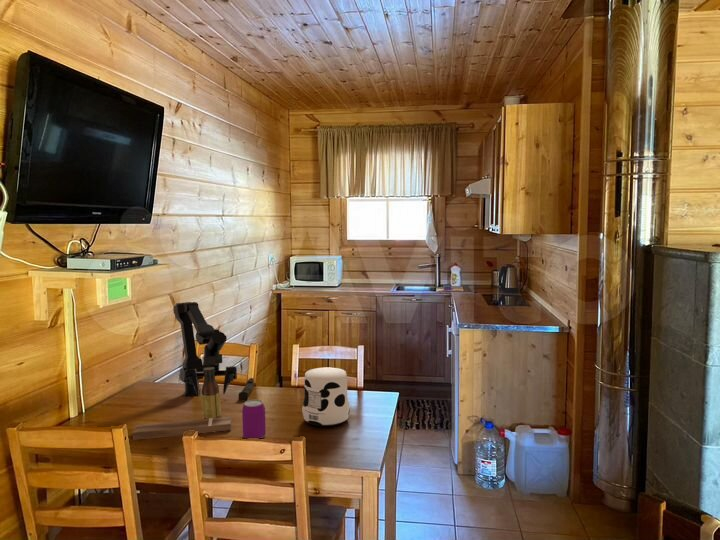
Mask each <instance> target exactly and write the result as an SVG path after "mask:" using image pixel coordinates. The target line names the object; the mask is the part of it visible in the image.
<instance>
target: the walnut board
mask: <svg viewBox="0 0 720 540" xmlns="http://www.w3.org/2000/svg"><path fill="white" fill-rule="evenodd" d="M188 430H195V431H198V433H203V434H206V433H205V432H213V431H224V432H227V431H226V430H231V431H232V416H225V417H224V416H223V417H221V418H209V419H204V418H203V419H202V418H201V419H190V420H179V421H178V420H177V421H168V422H154V423H146V424H145V423H144V424H136V425H135V427H134V430H133V432H132V440H133V441H136V440H146V439H147V440H148V439H158V438H168V437H179V436H184V435H183V433H184V432H185V431H188Z"/></svg>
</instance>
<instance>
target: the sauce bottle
mask: <svg viewBox="0 0 720 540" xmlns="http://www.w3.org/2000/svg"><path fill="white" fill-rule="evenodd" d="M203 372H204V377H203V380H204V381H203V384H202V387H201V398H202V400H201V401H202V402H201V403H202V412H203V415H202V416H203V419H209V418H222V417H221V414H222V409H221V399H220V395H221V394H220V386H219V383H218V382H217V379H216V376H215V373H214V372H215V367H212V366H210V367H205V368H204V369H203Z"/></svg>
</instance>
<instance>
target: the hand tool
mask: <svg viewBox="0 0 720 540" xmlns="http://www.w3.org/2000/svg"><path fill="white" fill-rule="evenodd" d="M254 385H255V380H254V377H250V378H249V379H247V380H246V385H245V386H244V388H242V390H241V391H240V392H238V400H239V401H243V400H244V401H248V398H249V396H250V394H251V392H252V391H254V388H255V386H254Z"/></svg>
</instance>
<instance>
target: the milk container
mask: <svg viewBox="0 0 720 540" xmlns="http://www.w3.org/2000/svg"><path fill="white" fill-rule="evenodd" d="M303 387H304V399H303V404H302V409H301V410H302V417H303V419H304V421H306V422H307V424H310V425H312V426H315V427H316V426H317V427H334V426H337V425H341V424H343V423H344V422H346V421H347V420H348V419H349V416H350V412H351V411H350V410H351V407H350V401H349V397H348V374H347V371H346V370H344V369H343V368H339V367H325V366H324V367H316V368H311V369H309V370H307V371H306V372H305V373H304V385H303Z"/></svg>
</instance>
